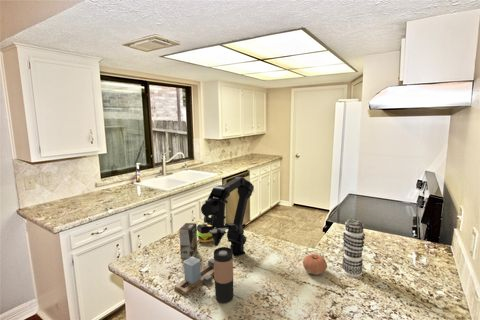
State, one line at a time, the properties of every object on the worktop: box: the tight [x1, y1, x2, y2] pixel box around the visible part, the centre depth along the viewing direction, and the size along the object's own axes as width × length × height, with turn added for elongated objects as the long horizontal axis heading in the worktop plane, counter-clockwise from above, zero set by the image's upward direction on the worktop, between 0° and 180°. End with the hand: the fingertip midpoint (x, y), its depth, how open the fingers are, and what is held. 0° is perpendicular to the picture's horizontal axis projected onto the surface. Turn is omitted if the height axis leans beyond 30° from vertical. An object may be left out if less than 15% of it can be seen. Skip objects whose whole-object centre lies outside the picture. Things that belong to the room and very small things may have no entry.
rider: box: [183, 256, 202, 285], centre depth 116 cm, size 5×5×11 cm
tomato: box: [302, 253, 328, 276], centre depth 123 cm, size 11×11×8 cm
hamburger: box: [197, 224, 214, 244], centre depth 159 cm, size 12×12×9 cm
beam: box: [174, 257, 214, 296], centre depth 119 cm, size 24×9×4 cm, turn 144°
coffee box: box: [179, 222, 199, 260], centre depth 141 cm, size 9×6×16 cm
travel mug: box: [213, 246, 234, 304], centre depth 105 cm, size 8×8×20 cm
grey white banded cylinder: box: [341, 218, 366, 278], centre depth 121 cm, size 9×9×25 cm
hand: (216, 246), depth 124 cm, fingers closed
